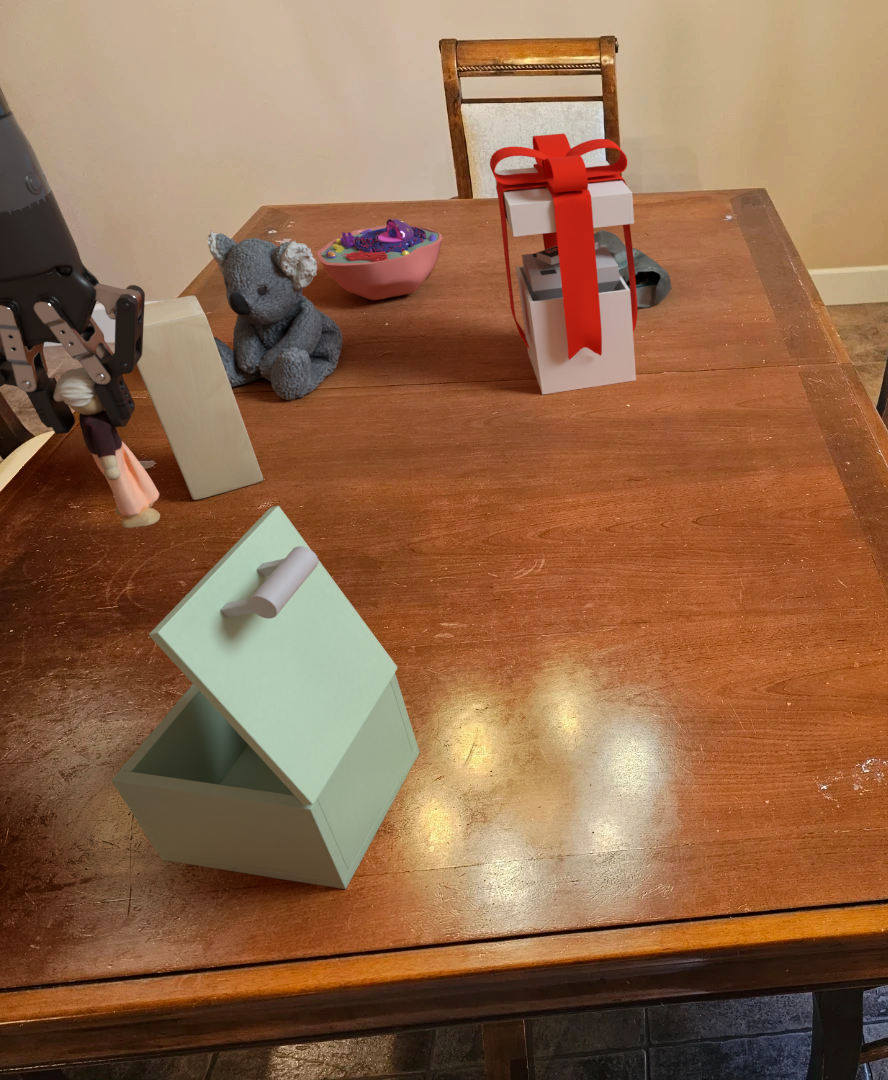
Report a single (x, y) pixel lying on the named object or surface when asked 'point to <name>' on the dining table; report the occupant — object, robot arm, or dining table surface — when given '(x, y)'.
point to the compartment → (263, 795)
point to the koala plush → (274, 316)
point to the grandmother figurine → (109, 451)
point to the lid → (279, 653)
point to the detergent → (638, 271)
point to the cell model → (382, 259)
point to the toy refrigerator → (195, 399)
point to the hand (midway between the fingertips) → (94, 424)
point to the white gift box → (570, 262)
